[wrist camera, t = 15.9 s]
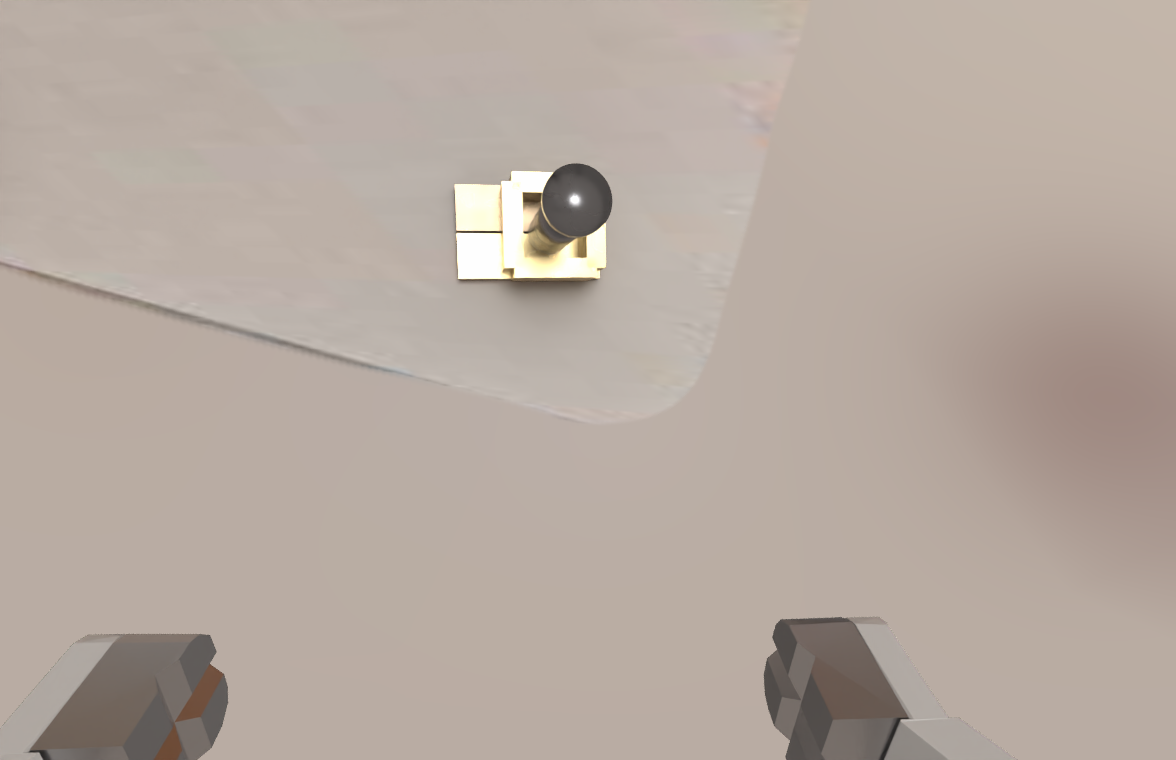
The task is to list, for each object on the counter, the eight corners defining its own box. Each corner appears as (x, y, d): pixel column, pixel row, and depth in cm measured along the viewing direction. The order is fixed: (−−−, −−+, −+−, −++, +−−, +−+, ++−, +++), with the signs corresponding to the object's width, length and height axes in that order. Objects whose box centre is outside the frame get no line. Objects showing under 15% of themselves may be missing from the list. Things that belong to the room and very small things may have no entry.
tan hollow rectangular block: (458, 282, 46) (457, 277, 42) (454, 184, 45) (453, 169, 41) (597, 281, 48) (610, 277, 44) (595, 187, 47) (608, 174, 43)
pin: (523, 259, 46) (543, 235, 33) (522, 206, 46) (541, 162, 33) (574, 259, 47) (612, 236, 34) (573, 207, 46) (611, 164, 34)
